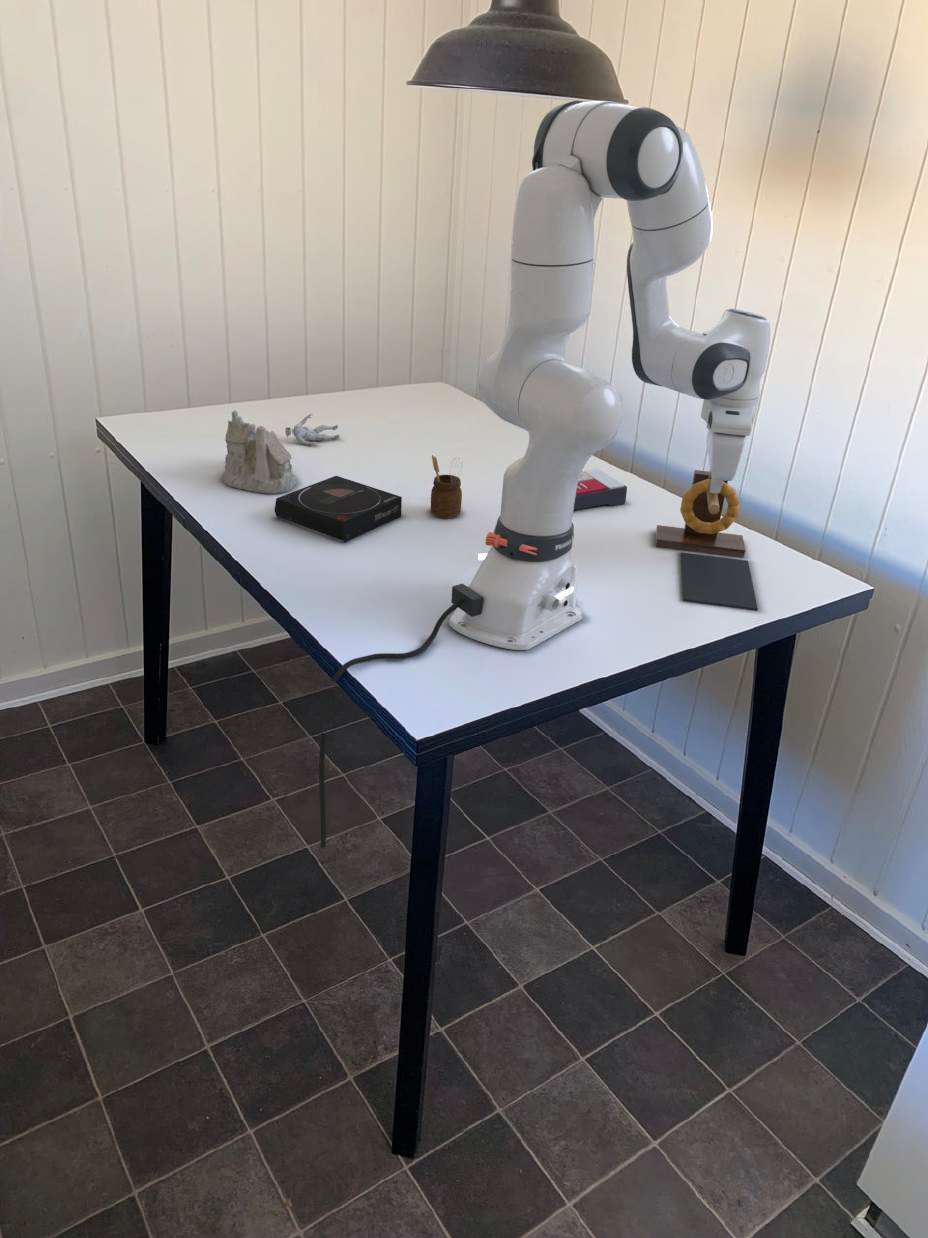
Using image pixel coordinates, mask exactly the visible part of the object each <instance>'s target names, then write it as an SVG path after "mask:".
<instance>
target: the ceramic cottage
mask: <svg viewBox="0 0 928 1238" xmlns="http://www.w3.org/2000/svg"><path fill="white" fill-rule="evenodd" d="M224 441H225V443H226V450H227V454H226V455H225V457H224V459H225V465H224V473H223V478H222V480H223V482H224V483H225V484H226V485H228V486H229V487H231V488H235V489H239V490H246V491H249V492H255V493H260V494H268V495H269V494H270V495H271V494H284V493H287V492H289V491H290V490H292V489H293V488H294V487H295V485H296V484H297V479H296V478H295V477H294V476H293V475H292V466H293V465H292V464H291V459H292V454H291V453H290V452H289V450H287V449H286V447H285V446H284V444H283V443H281V441H280V439H279V438H278V436H277V434H276V433H275V431H274V430H271V431H268V430H267V429H266V427H265V426H263V425H258V426H256V424H255V423H249V422H244V421H243V418H242V416H239V412H238V411H237V410H236V409H234V410H232V411H231V420H228V421H227V431H226V433H225V439H224Z"/></svg>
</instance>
